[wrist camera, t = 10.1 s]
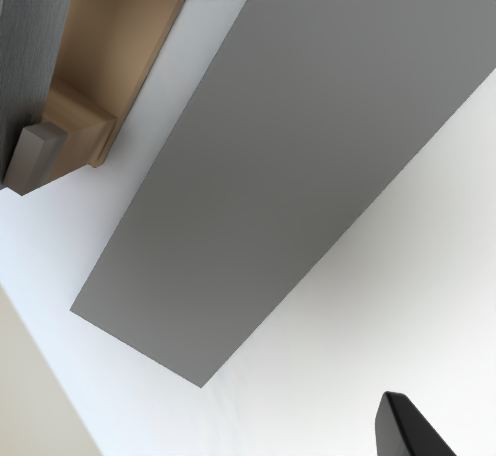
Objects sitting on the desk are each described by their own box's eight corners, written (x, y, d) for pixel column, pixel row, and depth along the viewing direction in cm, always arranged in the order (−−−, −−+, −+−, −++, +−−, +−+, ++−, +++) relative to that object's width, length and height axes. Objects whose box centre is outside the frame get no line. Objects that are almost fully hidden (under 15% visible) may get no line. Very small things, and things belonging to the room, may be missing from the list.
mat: (529, 22, 15) (537, 21, 15) (203, 381, 26) (201, 388, 25) (335, -148, 14) (336, -157, 13) (74, 304, 24) (69, 310, 24)
